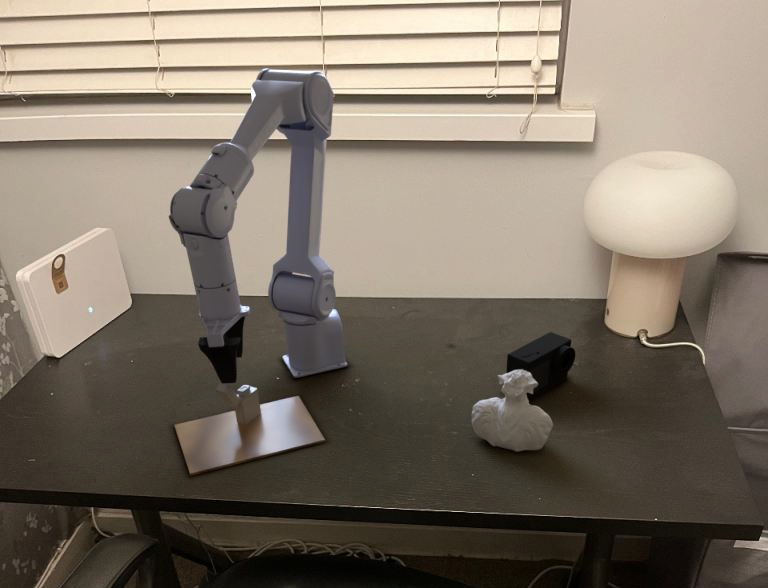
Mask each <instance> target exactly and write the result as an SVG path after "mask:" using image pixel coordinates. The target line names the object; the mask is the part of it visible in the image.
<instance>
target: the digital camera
mask: <svg viewBox="0 0 768 588" xmlns="http://www.w3.org/2000/svg"><path fill="white" fill-rule="evenodd" d="M575 360H576V350H575V348H574V347H572V339H570V338H568V337H565V336H564V335H563V336H562V335H560V334H557V333H555V332H552V331H549V332H547V333H545V334H544V335H541V336H540V337H537V338H535V339H534V340H532V341H530V342H528V343H526V344H524V345H522V346H520V347H519V348H516V349H515V350H513V351H512V352H510V353H508V354H507V358H506V371H505V374H506V373H509V372H511V371H513V370H518V369H520V370H522V369H523V370H524V371H525V370H526V371H527V372H530V373H531V375H532V378H534V379H535V381H536V382H537V383H538V386H537V387H535V388H533V394H531V393H528V392H527V393H526V395H527V399H528V400H529V401H531V400H532V399H534V398H536V397H538V396H540V395H541V394H543V393H545V392H546V391H549V390H550V389H552V388H554V387H556V386H557V385H559V384H560V383H562V382H563V381H565V380H567V379H568V375H569V374H568V373H569V371H570V370H571V369H572V367H573V366H574V363H575Z"/></svg>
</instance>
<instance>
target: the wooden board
mask: <svg viewBox="0 0 768 588" xmlns="http://www.w3.org/2000/svg"><path fill="white" fill-rule="evenodd" d="M260 409H261V413H260V414H259V415H258V416H257V417H255V418H254V419H253V420H252V421H250V422H249V423H248V424H247V425H242V424H239V423H237V418H236V413H235V410H231V411H227V412H223V413H219V414H215V415H210V416H205V417H202V418H201V417H200V418H197V419H193V420H188V421H184V422H181V423H180V422H179V423H176V424H174V425H173V426H174V429H175V432H176V436H177V439H178V442H179V444H180V448H181V450H182V454H183V457H184V460H185V463H186V467H187V470H188V472H189V476H190V477H192V476H195V475H199V474H202V473H207V472H211V471H215V470H219V469H223V468H227V467H231V466H234V465H239V464H243V463H246V462H252V461H255V460H258V459H263V458H266V457H270V456H274V455H278V454H282V453H286V452H291V451H295V450H298V449H302V448H307V447H309V446H313V445H318V444H321V443H325V442H326V439H325V438H324V436H323V434H322V432H321V431H320V429H319V428H318V426H317V424H316V422H315V421H314V419H313V417H312V416H311V414H310V412H309V411H308V408H307V407H306V405H305V404H304V402H303V401H302V399H301V397H300V396H299V395H296V396H291V397H286V398H283V399H278V400H274V401H270V402H266V403H265V402H264V403H262V404H260Z"/></svg>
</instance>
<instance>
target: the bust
mask: <svg viewBox="0 0 768 588" xmlns="http://www.w3.org/2000/svg"><path fill="white" fill-rule="evenodd" d="M497 378H498V380H499V381H498V384H499V385H502V384H503V386H502V387H501V393H502V394H503V395H504V397H503V398H500V397H495V396H494V397H490V398H488V399H481V400H478V402H476V403H475V404H474V405H473V406H472V410H471V414H470V415H471V426H472V429H473V432H474V434H475V435H476V436H477V437H479V438H481V439H483V440H484V441H486V442H488V443H489V444H490V445H491V446H493V447H499V448H502V449H506V450H512V451H514V452H516V453H517V452H522V451H540V450H541V449H542V448H543V447H544V445H545V444H546V443H547V441H548V439H549V437H550V436H551V431H552V429H553V427H554V424H553V421H552V418H551V417H550V415H549V414H548V413H547V412H546V411H544V410H543V409H542V408H541V407H540V406H538V405H533V404H532V405H531V404H530V400H528V399H527V395H526V393H527V392H528V393H531V394H533V388H535V387H537V386H538V383H537V382H536V381H535V379H534V378H532V375H531V373H530V372H527V371H526V370H525V371H524V370H523V369H522V370H520V369H518V370H513V371H511V372H509V373H506V372H505V373H503V374H498V375H497Z"/></svg>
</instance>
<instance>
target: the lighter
mask: <svg viewBox="0 0 768 588" xmlns="http://www.w3.org/2000/svg"><path fill="white" fill-rule="evenodd" d="M215 391H216V393H217V394H218V395H219V397H220V398H221V399H222V401H223V402H224V403H225V404H226V406H228V407H230V408H234V411H235V413H236V418H237V423H239V424H242V425H247V424H248V423H249V422H250V421H252V420H253V419H254V418H255V417H257V416H258V415H259V414H260V413H261V409H260V405H261V404H260V398H259V393H258V388H257V387H253V386H251V385H249V384H243V385H242V386H240V387H239V388H237V393H236V392H235V391H234V390H233V388H232V387H231V386H230V385H229V383H225V384H222V383H221V381H220V382H219V384H218V385H217V387H216V389H215Z"/></svg>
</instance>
